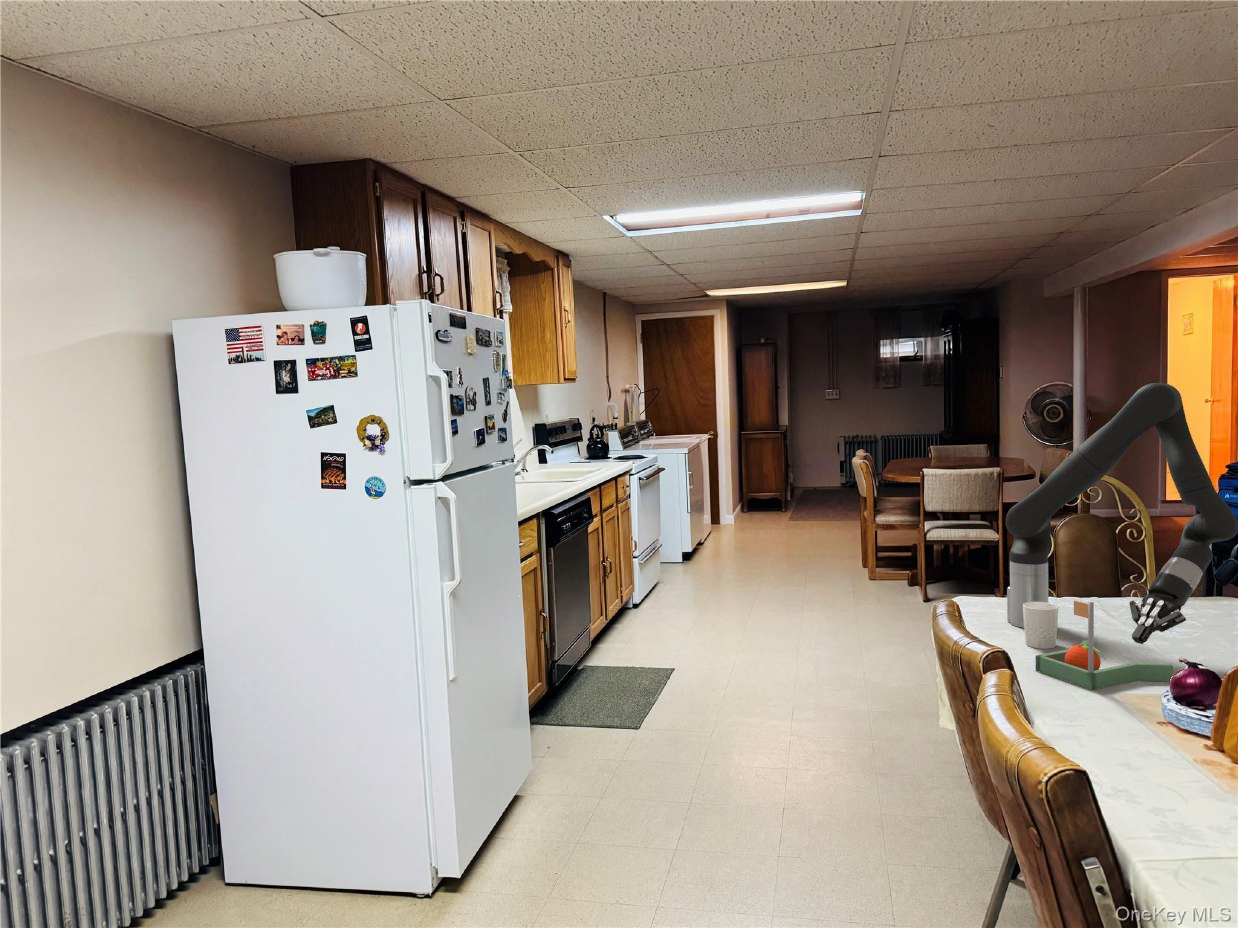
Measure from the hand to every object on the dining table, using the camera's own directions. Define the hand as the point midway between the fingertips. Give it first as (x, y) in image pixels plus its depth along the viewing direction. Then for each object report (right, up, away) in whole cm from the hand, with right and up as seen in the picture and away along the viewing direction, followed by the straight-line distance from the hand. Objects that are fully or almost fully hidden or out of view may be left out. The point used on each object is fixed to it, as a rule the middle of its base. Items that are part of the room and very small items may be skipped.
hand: (1137, 641), depth 189 cm
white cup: (-13, -5, +18) cm, 23 cm away
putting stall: (-11, -6, -4) cm, 14 cm away
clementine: (-15, -7, -6) cm, 17 cm away
